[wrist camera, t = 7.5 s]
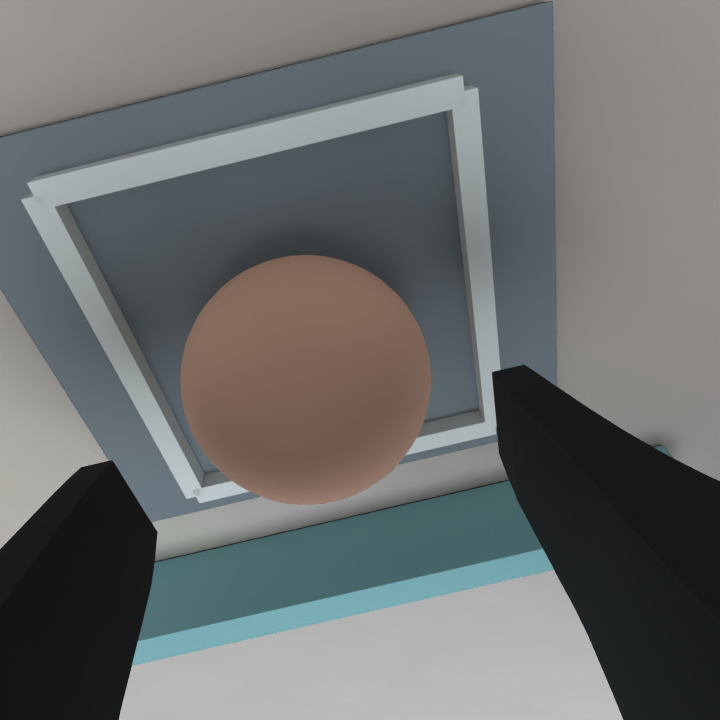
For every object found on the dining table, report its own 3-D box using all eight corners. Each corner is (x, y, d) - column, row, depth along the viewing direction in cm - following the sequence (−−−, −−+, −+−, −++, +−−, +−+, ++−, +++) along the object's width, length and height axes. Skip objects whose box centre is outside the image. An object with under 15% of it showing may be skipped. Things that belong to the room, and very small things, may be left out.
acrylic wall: (662, 445, 19) (717, 508, 17) (659, 468, 20) (712, 533, 18) (125, 569, 20) (100, 649, 17) (139, 588, 20) (117, 668, 18)
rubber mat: (545, 2, 12) (564, 0, 11) (552, 419, 18) (564, 439, 17) (-73, 154, 12) (-99, 164, 11) (150, 513, 18) (144, 537, 18)
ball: (386, 197, 13) (441, 293, 9) (418, 379, 16) (474, 525, 12) (164, 251, 13) (99, 376, 9) (238, 423, 16) (220, 585, 12)
